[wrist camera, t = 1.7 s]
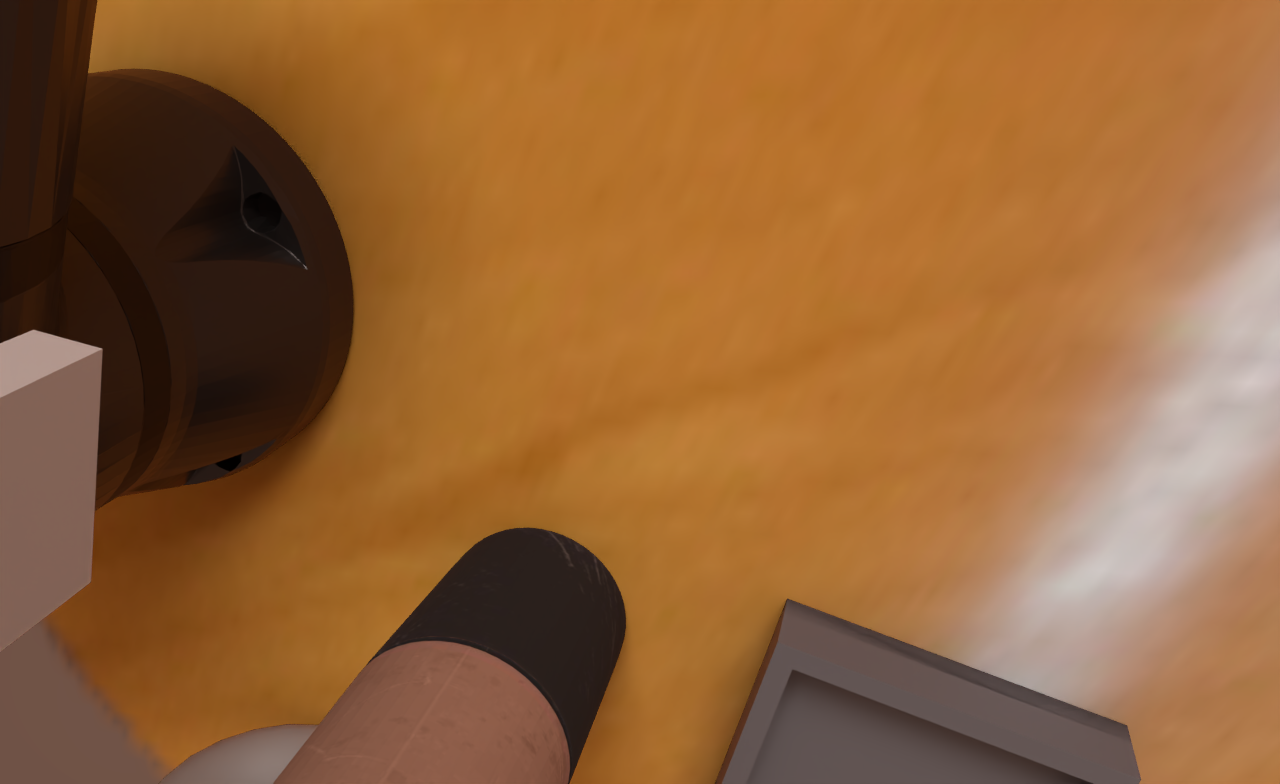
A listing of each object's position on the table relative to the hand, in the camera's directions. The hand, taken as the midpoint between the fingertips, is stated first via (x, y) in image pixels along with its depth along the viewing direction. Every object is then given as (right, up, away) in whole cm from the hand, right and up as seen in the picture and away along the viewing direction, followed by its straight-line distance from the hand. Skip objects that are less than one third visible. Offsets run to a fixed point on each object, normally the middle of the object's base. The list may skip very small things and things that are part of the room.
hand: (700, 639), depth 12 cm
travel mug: (-4, -6, +34) cm, 35 cm away
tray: (+9, -13, +33) cm, 37 cm away
